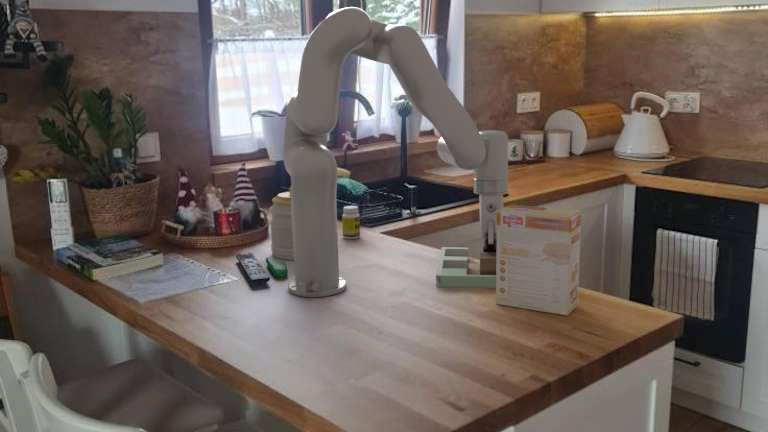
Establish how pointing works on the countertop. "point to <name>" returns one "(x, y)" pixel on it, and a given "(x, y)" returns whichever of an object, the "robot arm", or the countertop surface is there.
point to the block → (487, 263)
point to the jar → (282, 227)
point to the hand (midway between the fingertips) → (490, 264)
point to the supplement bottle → (351, 222)
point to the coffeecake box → (538, 258)
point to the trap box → (459, 270)
